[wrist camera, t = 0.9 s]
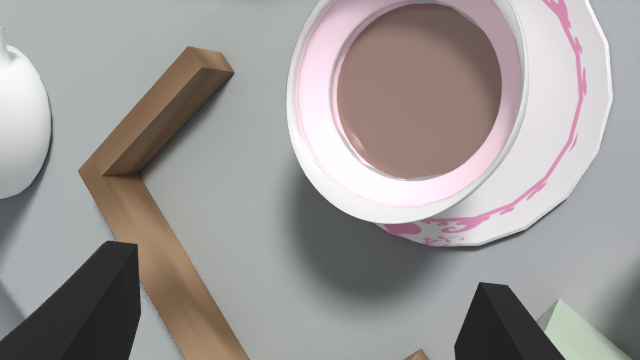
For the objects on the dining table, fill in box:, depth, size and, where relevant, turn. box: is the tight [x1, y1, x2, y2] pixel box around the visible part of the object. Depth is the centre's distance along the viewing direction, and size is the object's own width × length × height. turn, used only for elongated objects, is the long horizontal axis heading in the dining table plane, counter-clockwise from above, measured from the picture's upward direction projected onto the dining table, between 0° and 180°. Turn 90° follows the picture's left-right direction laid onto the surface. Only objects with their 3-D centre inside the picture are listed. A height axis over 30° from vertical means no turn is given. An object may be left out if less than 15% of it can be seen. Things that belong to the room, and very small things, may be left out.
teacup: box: [286, 0, 613, 247], centre depth 21 cm, size 12×12×6 cm
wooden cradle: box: [78, 46, 429, 360], centre depth 27 cm, size 17×9×2 cm, turn 38°
